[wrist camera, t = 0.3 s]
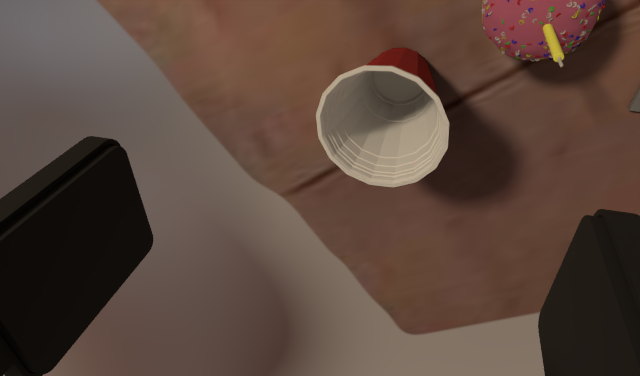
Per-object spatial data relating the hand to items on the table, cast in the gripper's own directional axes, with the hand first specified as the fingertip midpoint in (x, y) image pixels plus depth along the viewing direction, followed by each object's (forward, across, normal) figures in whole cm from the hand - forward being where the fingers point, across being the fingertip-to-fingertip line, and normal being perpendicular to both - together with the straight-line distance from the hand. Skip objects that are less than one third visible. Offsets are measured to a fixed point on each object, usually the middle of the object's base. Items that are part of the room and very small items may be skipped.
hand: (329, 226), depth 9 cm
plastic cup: (+36, +2, +11) cm, 38 cm away
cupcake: (+36, -8, +3) cm, 37 cm away
